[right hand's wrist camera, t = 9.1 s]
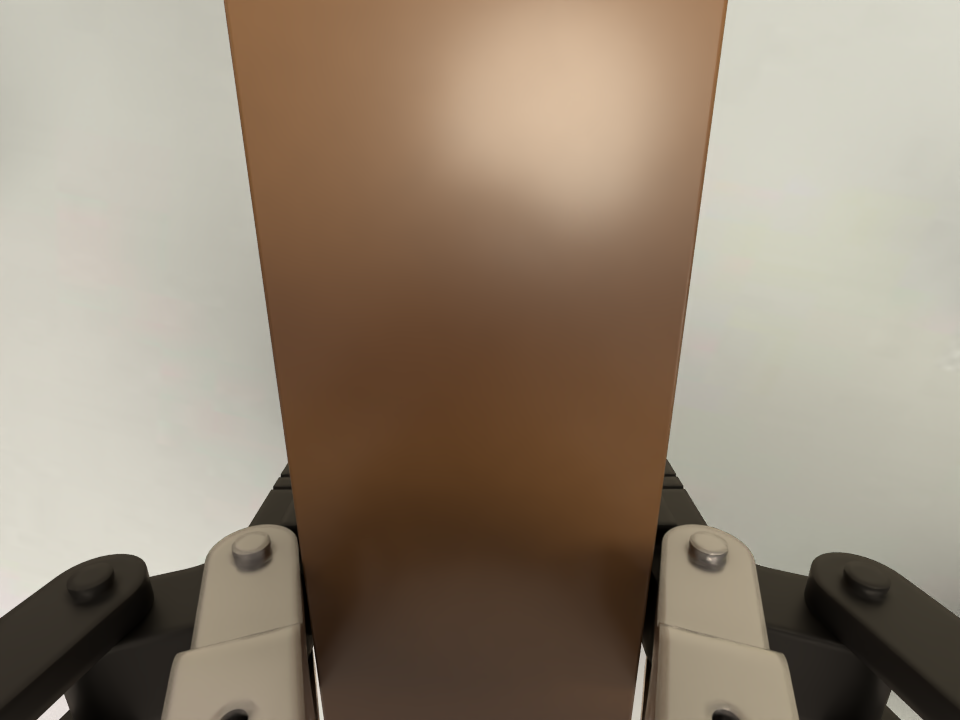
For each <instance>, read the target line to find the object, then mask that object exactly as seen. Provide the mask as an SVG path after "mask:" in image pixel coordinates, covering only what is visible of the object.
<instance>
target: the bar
mask: <svg viewBox="0 0 960 720" xmlns="http://www.w3.org/2000/svg"><path fill="white" fill-rule="evenodd" d="M727 4H728V0H224V5H225V13H226V20H227V27H228V34H229V41H230V48H231V56H232V63H233V70H234V77H235V84H236V92H237V99H238V106H239V113H240V120H241V127H242V135H243V142H244V149H245V156H246V163H247V170H248V178H249V185H250V192H251V199H252V206H253V213H254V221H255V228H256V235H257V242H258V249H259V257H260V264H261V271H262V278H263V285H264V292H265V300H266V307H267V314H268V321H269V328H270V335H271V343H272V350H273V357H274V364H275V371H276V378H277V386H278V393H279V400H280V407H281V414H282V421H283V429H284V436H285V443H286V450H287V457H288V465H289V472H290V479H291V486H292V493H293V500H294V508H295V515H296V522H297V529H298V536H299V543H300V551H301V558H302V565H303V572H304V579H305V586H306V594H307V601H308V608H309V615H310V622H311V630H312V637H313V644H314V651H315V658H316V665H317V673H318V680H319V687H320V694H321V701H322V708H323V716H324V720H631V717H632V710H633V702H634V695H635V687H636V680H637V673H638V665H639V658H640V650H641V643H642V635H643V628H644V621H645V613H646V606H647V598H648V591H649V583H650V576H651V569H652V561H653V554H654V546H655V539H656V531H657V524H658V517H659V509H660V502H661V494H662V487H663V479H664V472H665V465H666V457H667V450H668V442H669V435H670V427H671V420H672V413H673V405H674V398H675V390H676V383H677V375H678V368H679V360H680V353H681V346H682V338H683V331H684V323H685V316H686V308H687V301H688V294H689V286H690V279H691V271H692V264H693V256H694V249H695V242H696V234H697V227H698V219H699V212H700V204H701V197H702V190H703V182H704V175H705V167H706V160H707V152H708V145H709V138H710V130H711V123H712V115H713V108H714V100H715V93H716V86H717V78H718V71H719V63H720V56H721V48H722V41H723V34H724V26H725V19H726V11H727Z"/></svg>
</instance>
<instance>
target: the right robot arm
mask: <svg viewBox="0 0 960 720" xmlns="http://www.w3.org/2000/svg"><path fill="white" fill-rule="evenodd" d="M313 645H314V644H313V637H312V630H311V622H310V615H309V608H308V601H307V594H306V586H305V579H304V572H303V565H302V558H301V551H300V543H299V536H298V529H297V522H296V515H295V508H294V500H293V493H292V486H291V479H290V472H289V465H288V464H287V465H286V467H285V469H284V470H283V472H282V473H281V477H279V478H278V480H277V481H276V483H275V485H274V486H273V490H271V491H270V493H269V494H268V496H267V498H266V499H265V501H264V502H263V504H262V506H261V507H260V509H259V511H258V512H257V514H256V515H255V517H254V519H253V520H252V522H251V523H250V525H249V527H247V528H244V529H241V530H238V531H236V532H234V533H231V534H230V535H228V536H226V537H224V538H223V539H222V540H220V541H219V542H218V543H217V544H215V545H214V546H213V548H212V549H211V550H210V551H209V553H208V555H207V557H206V560H205V563H204V564H202V565H199V566H196V567H192V568H188V569H184V570H179V571H175V572H170V573H166V574H161V575H156V576H152V577H149V574H148V570H147V566H146V564H145V562H144V561H143V560H142V559H141V558H139V557H137V556H134V555H129V554H114V555H107V556H102V557H98V558H94V559H91V560H88V561H86V562H83V563H81V564H78V565H76V566H74V567H72V568H70V569H68V570H67V571H65V572H63V573H62V574H60V575H59V576H57V577H56V578H54V579H53V580H52V581H50V582H49V583H48V584H46V585H45V586H44V587H42V588H41V589H39V590H38V591H37V592H35V593H34V594H33V595H31V596H30V597H29V598H27V599H26V600H24V601H23V602H22V603H20V604H19V605H18V606H16V607H15V608H14V609H12V610H11V611H9V612H8V613H7V614H5V615H4V616H3V617H1V618H0V720H37V719H38V718H39V717H40V716H41V715H42V714H43V713H44V712H45V711H46V710H47V709H48V708H50V707H51V706H52V705H53V704H54V703H55V702H56V701H57V700H58V699H59V698H60V697H61V696H62V695H63V694H64V695H65V698H66V700H67V703H68V706H69V709H70V710H69V711H68V712H67V713H66V714H64V715H63V716H62V717H61V718H60V719H59V720H320V719H319V707H318V695H317V682H316V670H315V662H314V655H313ZM642 645H643V648H644V651H645V654H646V662H645V670H644V682H643V695H642V707H641V719H640V720H901V719H900V718H899V717H898V716H897V715H895V714H894V713H893V712H892V711H891V710H890V709H889V708H888V707H887V706H886V704H887V701H888V698H889V695H890V692H891V690H893V691H894V692H895V693H896V694H897V695H898V696H899V697H900V698H901V699H902V700H903V701H904V702H905V703H906V704H907V705H908V706H909V707H910V708H912V709H913V710H914V711H915V712H916V713H917V714H918V715H919V716H920V717H921V718H922V719H923V720H960V618H959V617H957V616H956V615H955V614H953V613H952V612H951V611H949V610H948V609H946V608H945V607H944V606H942V605H941V604H940V603H938V602H937V601H936V600H934V599H933V598H931V597H930V596H929V595H927V594H926V593H925V592H923V591H922V590H921V589H919V588H918V587H916V586H915V585H914V584H912V583H911V582H910V581H908V580H907V579H906V578H904V577H903V576H901V575H900V574H898V573H897V572H895V571H894V570H892V569H890V568H889V567H887V566H885V565H883V564H881V563H879V562H876V561H874V560H871V559H869V558H866V557H862V556H859V555H854V554H849V553H840V552H833V553H826V554H822V555H820V556H818V557H816V558H815V559H814V560H813V562H812V565H811V568H810V572H809V576H803V575H799V574H794V573H790V572H785V571H780V570H776V569H771V568H767V567H763V566H760V565H757V564H755V560H754V557H753V555H752V553H751V551H750V550H749V549H748V548H747V546H746V545H745V544H743V543H742V542H741V541H740V540H738V539H737V538H736V537H734V536H732V535H730V534H729V533H726V532H724V531H722V530H719V529H716V528H713V527H709V526H707V524H706V522H705V521H704V519H703V518H702V516H701V514H700V513H699V511H698V509H697V508H696V506H695V504H694V503H693V501H692V500H691V498H690V496H689V495H688V493H687V491H686V490H685V489H683V485H682V483H681V481H680V480H679V478H678V477H676V473H675V472H674V470H673V468H672V467H671V465H670V463H669V462H668V460H667V459H666V465H665V472H664V479H663V487H662V494H661V502H660V509H659V517H658V524H657V531H656V539H655V546H654V554H653V561H652V569H651V576H650V583H649V591H648V598H647V606H646V613H645V621H644V628H643V635H642Z"/></svg>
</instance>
